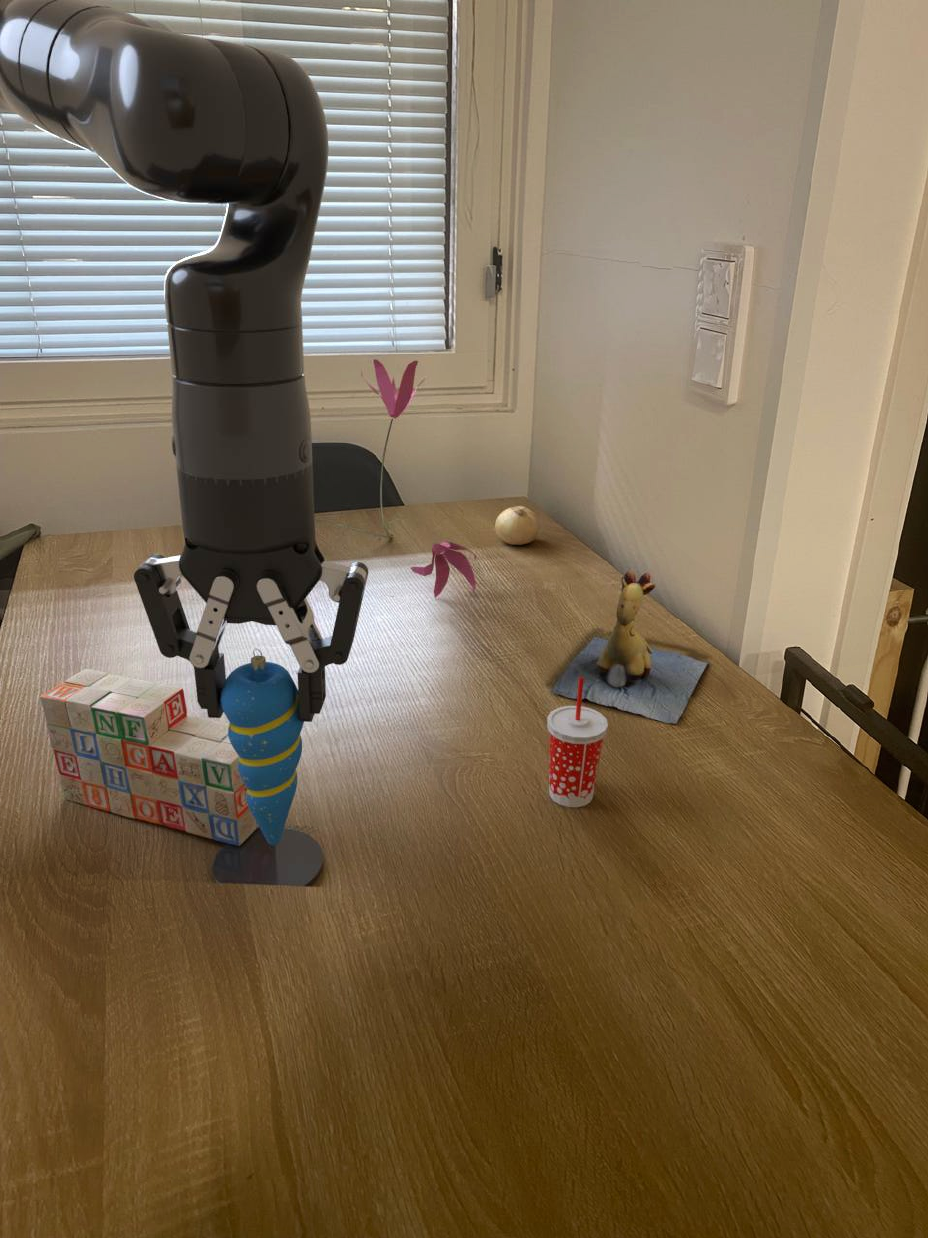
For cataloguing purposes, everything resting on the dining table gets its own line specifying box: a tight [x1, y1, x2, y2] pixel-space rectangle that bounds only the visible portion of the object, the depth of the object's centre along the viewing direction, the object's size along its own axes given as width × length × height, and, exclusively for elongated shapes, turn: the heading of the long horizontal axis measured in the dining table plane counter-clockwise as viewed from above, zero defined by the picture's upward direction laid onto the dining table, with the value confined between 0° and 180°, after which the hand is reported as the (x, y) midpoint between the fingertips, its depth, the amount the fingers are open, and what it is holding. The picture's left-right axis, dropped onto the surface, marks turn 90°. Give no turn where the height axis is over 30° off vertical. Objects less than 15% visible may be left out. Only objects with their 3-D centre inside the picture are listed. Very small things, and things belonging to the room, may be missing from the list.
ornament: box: [220, 648, 305, 846], centre depth 60 cm, size 5×5×15 cm
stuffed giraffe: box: [550, 571, 708, 724], centre depth 116 cm, size 16×18×16 cm
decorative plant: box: [315, 358, 477, 599], centre depth 149 cm, size 38×42×30 cm
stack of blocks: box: [39, 668, 260, 846], centre depth 89 cm, size 21×6×12 cm, turn 69°
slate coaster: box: [212, 826, 324, 887], centre depth 84 cm, size 10×10×1 cm
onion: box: [494, 505, 540, 546], centre depth 163 cm, size 8×8×7 cm
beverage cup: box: [546, 676, 609, 808], centre depth 93 cm, size 6×6×14 cm
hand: (262, 712), depth 58 cm, fingers closed on ornament, 5 cm apart
